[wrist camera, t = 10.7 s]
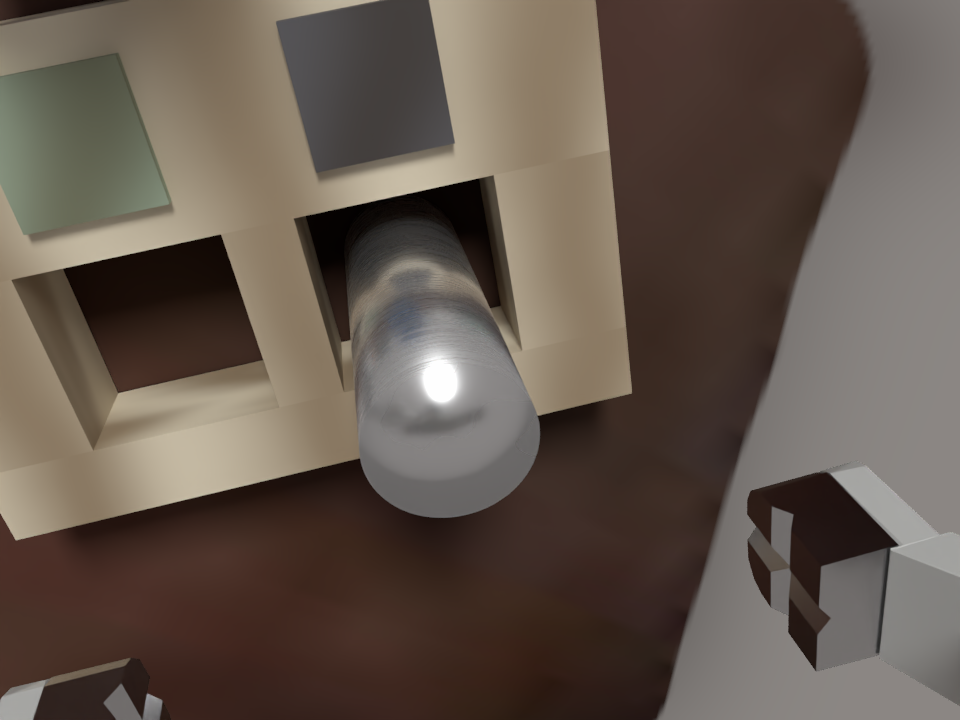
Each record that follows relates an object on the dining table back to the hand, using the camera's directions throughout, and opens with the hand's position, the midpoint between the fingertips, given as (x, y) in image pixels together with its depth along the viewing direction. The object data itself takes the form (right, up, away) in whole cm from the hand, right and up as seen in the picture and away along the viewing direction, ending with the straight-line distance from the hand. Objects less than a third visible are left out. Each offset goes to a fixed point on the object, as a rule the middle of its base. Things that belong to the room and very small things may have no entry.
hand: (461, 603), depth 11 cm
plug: (-2, +6, +12) cm, 14 cm away
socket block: (-5, +7, +11) cm, 14 cm away
